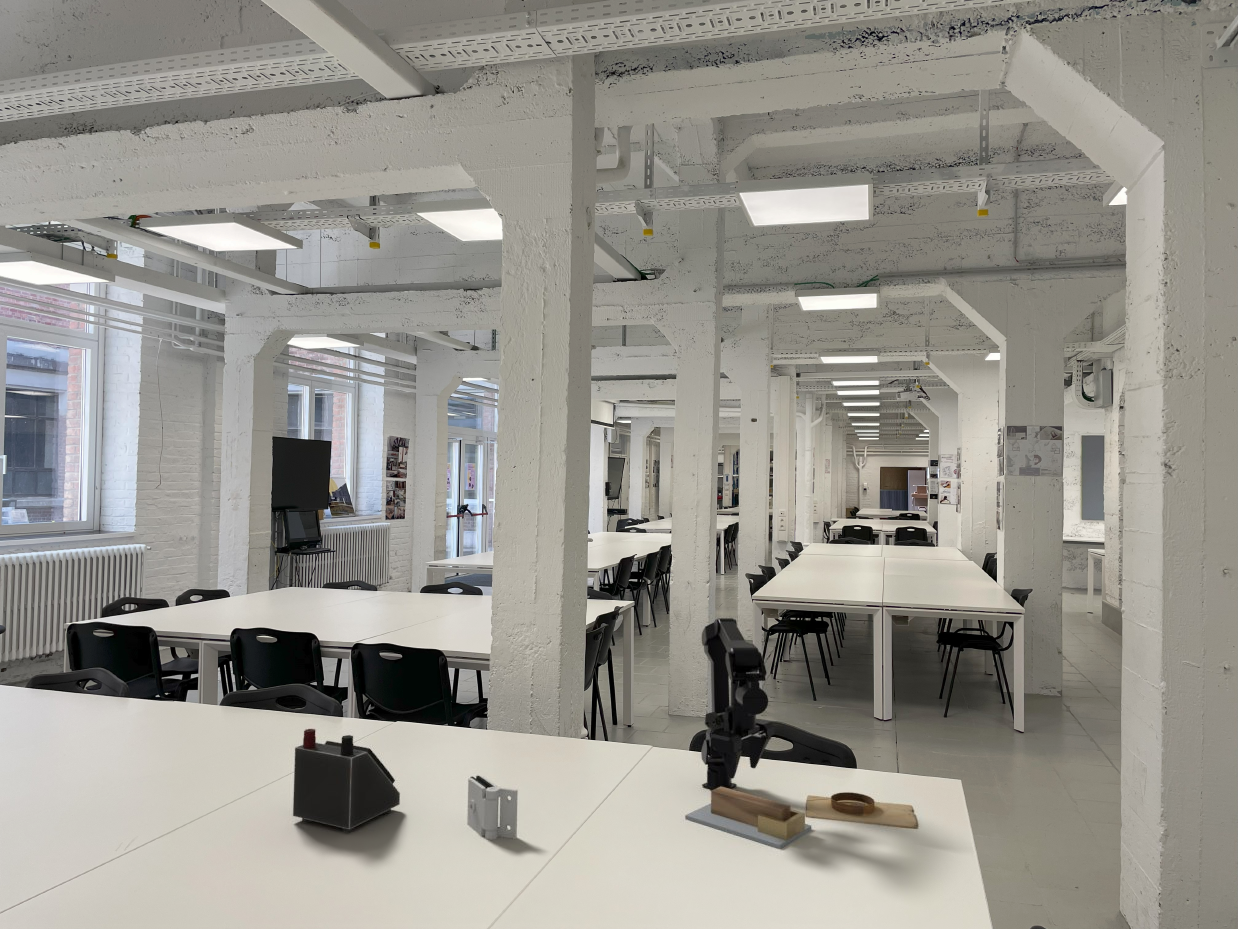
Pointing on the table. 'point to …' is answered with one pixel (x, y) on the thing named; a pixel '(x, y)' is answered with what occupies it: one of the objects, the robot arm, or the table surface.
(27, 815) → the table surface
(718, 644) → the robot arm
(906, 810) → the board
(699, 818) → the mounting board
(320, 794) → the voltmeter
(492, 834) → the hinge
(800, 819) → the cup bracket
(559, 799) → the table surface
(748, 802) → the walnut rail
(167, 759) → the table surface
